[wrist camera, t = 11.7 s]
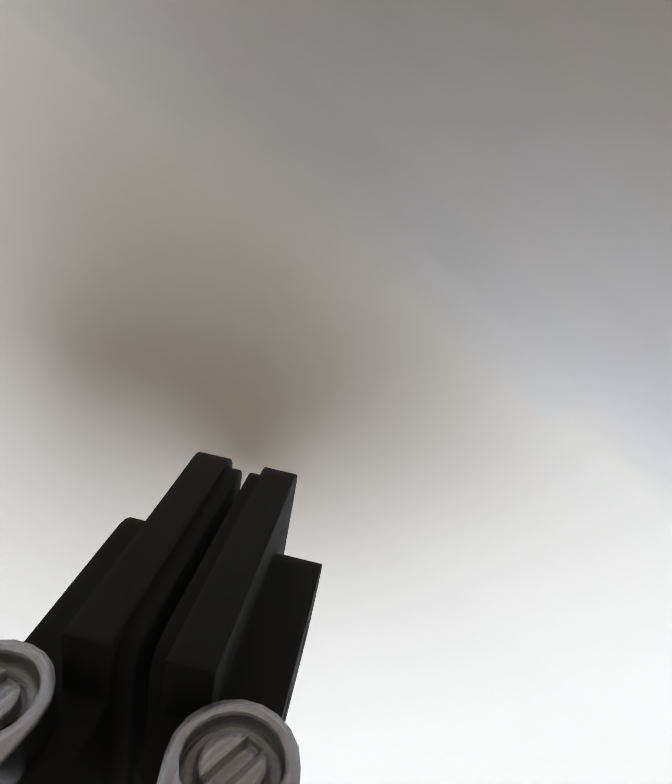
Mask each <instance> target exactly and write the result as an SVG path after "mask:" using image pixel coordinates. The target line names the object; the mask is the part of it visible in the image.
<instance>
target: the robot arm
mask: <svg viewBox="0 0 672 784" xmlns="http://www.w3.org/2000/svg"><path fill="white" fill-rule="evenodd" d="M241 478H242V472H241V470H237V469H233V468H232V460H231V459H228V458H224V457H220V456H216V455H211V454H207V453H203V452H198V453H197V454H196V455H195V456H194V457H193V458H192V460H191V461H190V462H189V464H188V465H187V466H186V468H185V469H184V470H183V472H182V473H181V474H180V476H179V477H178V478H177V480H176V481H175V482H174V484H173V485H172V486H171V488H170V489H169V490H168V492H167V493H166V494H165V496H164V497H163V498H162V500H161V501H160V502H159V504H158V505H157V506H156V508H155V509H154V510H153V512H152V513H151V514H150V516H149V517H148V518H147V520H146V521H143V520H139V519H135V518H131V517H129V518H127V519H125V520H124V521H122V522H121V523H120V524H119V525H118V527H117V528H116V529H115V530H114V532H113V533H112V534H111V535H110V537H109V538H108V539H107V540H106V542H105V543H104V544H103V545H102V546H101V548H100V549H99V550H98V551H97V553H96V554H95V555H94V556H93V558H92V559H91V560H90V561H89V562H88V564H87V565H86V566H85V567H84V569H83V570H82V571H81V572H80V574H79V575H78V576H77V577H76V579H75V580H74V581H73V582H72V583H71V585H70V586H69V587H68V588H67V590H66V591H65V592H64V593H63V595H62V596H61V597H60V598H59V599H58V601H57V602H56V603H55V604H54V606H53V607H52V608H51V609H50V611H49V612H48V613H47V614H46V616H45V617H44V618H43V619H42V620H41V622H40V623H39V624H38V625H37V627H36V628H35V629H34V630H33V632H32V633H31V634H30V635H29V636H28V638H27V639H26V640H25V641H24V642H22V641H18V640H0V784H300V769H301V767H300V757H299V747H298V745H297V742H296V740H295V738H294V736H293V733H292V731H291V729H290V728H289V727H288V725H287V724H286V723H285V720H286V716H287V712H288V708H289V704H290V700H291V696H292V692H293V688H294V685H295V681H296V677H297V673H298V669H299V665H300V661H301V657H302V653H303V649H304V645H305V641H306V636H307V632H308V628H309V624H310V619H311V615H312V610H313V606H314V601H315V597H316V592H317V587H318V583H319V578H320V573H321V568H322V564H319V563H315V562H311V561H307V560H303V559H299V558H295V557H290V556H286V555H284V550H285V544H286V539H287V533H288V528H289V522H290V516H291V511H292V505H293V499H294V494H295V488H296V482H297V475H296V474H292V473H288V472H283V471H279V470H275V469H271V468H266V467H265V468H264V469H263V470H262V472H261V474H260V475H258V474H254V473H250V474H249V475H248V477H247V479H246V480H245V482H244V484H243V486H242V488H241V490H240V486H241Z"/></svg>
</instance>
